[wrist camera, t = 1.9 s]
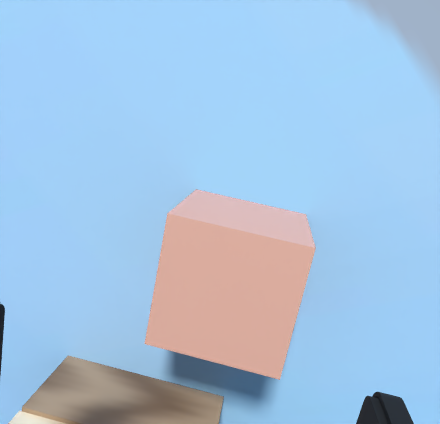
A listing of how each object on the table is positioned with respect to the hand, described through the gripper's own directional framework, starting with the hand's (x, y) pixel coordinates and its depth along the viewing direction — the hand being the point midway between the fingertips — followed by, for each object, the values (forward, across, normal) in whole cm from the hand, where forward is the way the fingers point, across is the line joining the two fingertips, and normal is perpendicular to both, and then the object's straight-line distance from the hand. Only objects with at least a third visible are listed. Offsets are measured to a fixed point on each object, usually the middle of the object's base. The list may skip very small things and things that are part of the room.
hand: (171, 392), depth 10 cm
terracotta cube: (+13, -1, +1) cm, 13 cm away
